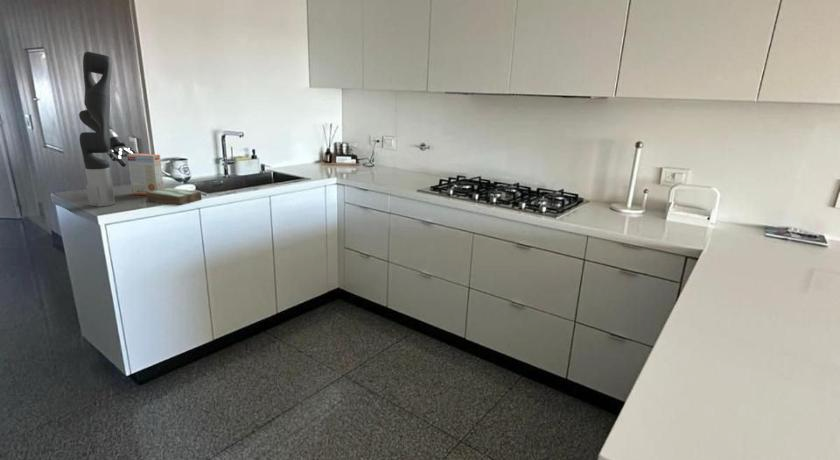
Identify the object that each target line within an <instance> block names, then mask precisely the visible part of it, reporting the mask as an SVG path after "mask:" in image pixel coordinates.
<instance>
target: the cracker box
mask: <svg viewBox="0 0 840 460" xmlns="http://www.w3.org/2000/svg"><path fill="white" fill-rule="evenodd" d="M127 156H128V157H127V163H128V169H129V171H128V172H129V178H130V185H131V191H132V192H131V193H132V195H133V196H135V195H136V196H147V194H146V193H148V192H152V191H157V190H162V189H165V185H164V179H163V168H162V161H161V155H160V154H152V153H139V154H136V153H134V154H130V153H129V154H128V155H127Z"/></svg>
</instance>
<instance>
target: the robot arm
mask: <svg viewBox="0 0 840 460" xmlns="http://www.w3.org/2000/svg"><path fill="white" fill-rule="evenodd" d="M112 62H113V61H112V58H111V57H110V56H109V55H106V54H102V53H101V54H100V53H97V52H92V51H85V52H84V53H83V57H82V73H83V83H84V99H83V101H84V102H83V103H84V106H85V110H84V109H83V110H81V111H80V112H79V113H78V116H79V117H78V118H79V120H80V121H81V123H83V124H84V125H85V126H86V127H88V128H89V129H90V130H92V132H91V131H89V132H87V131H85V132H80V135H79V145H80V149H81V153H82V154H81V155H82V158H83V163H84V167H85V174H86V179H87V184H86V185H85V187H86V192H87V194H86V195H87V199H88V204H89V205H88V206H90V207H98V208H99V207H108V206H113V205H115V204H116V200H115V193H114V188H113V187H114V186H113V180H112V175H111V168H110V162H109V161H108V160H107V159H102V158H99V157H97V156H95V155H94V154H107V155H108V157H109V158H110V160H112V162H118V163H119V165H121V166H122V167H123V168H124V167H125V168H126V166H127V163H126V162H125V160H124V159H123V158H124V157H125V158H128V156H127V155H128V154H134V153H136V154H140V153H139V151H137V150H136V149H135V148H134V147H133V146H130V147H127V146H126V144H125V142H124V141H123V139H121V137H120V135H118V134H117V132H115V131H114V130H113V128H112V127H111V126H110V112H111V111H110V110H111V91H110V90H111V87H110V86H111V76H112V69H113V68H112V65H113V64H112ZM92 73H94V74H98V75H102V76H101V77H100V79H99V80H98V81H97V82H95V80H94V78H93V76H92V75H93V74H92Z"/></svg>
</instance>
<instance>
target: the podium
mask: <svg viewBox="0 0 840 460" xmlns="http://www.w3.org/2000/svg"><path fill="white" fill-rule="evenodd" d="M146 194H147V195H146V199H147V201H149V202H157V203H164V204H170V205H175V206H177V205H178V206H180V205H181V206H182V205H185V204H188V203H189V204H190V203H193V202H197V201H201V200H202V192H200V191H196V190H188V189H183V188H182V189H181V188H173V187H167V188H164V189H162V190H157V191H152V192H148V193H146Z"/></svg>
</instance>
